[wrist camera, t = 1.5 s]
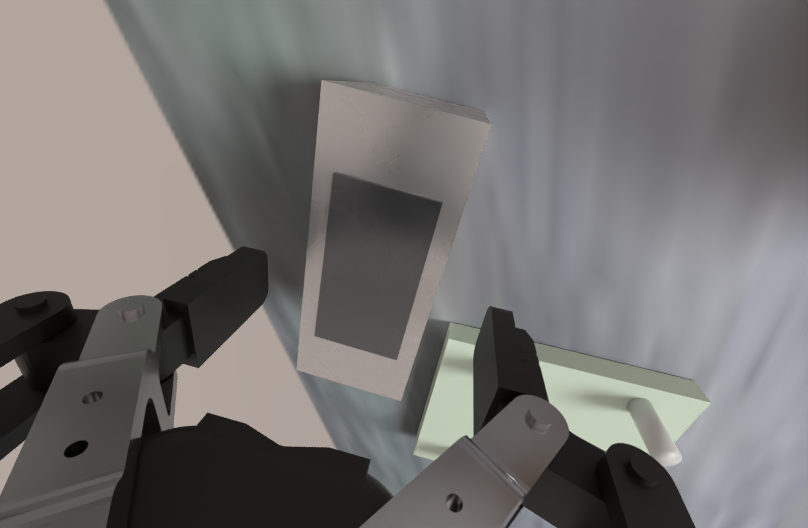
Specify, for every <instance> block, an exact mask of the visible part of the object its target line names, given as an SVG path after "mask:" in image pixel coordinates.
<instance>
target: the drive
mask: <svg viewBox="0 0 808 528" xmlns="http://www.w3.org/2000/svg"><path fill="white" fill-rule="evenodd" d="M491 125H492V124H491V122H490V121H489V119H488V117H487V116H486V114H485V112H484V111H482V110H478V109H474V108H470V107H466V106H462V105H458V104H455V103H451V102H447V101H443V100H439V99H435V98H431V97H428V96H424V95H420V94H416V93H412V92H408V91H404V90H400V89H397V88H393V87H389V86H385V85H381V84H377V83H373V82H354V81H332V80H321V92H320V104H319V115H318V127H317V139H316V150H315V162H314V173H313V185H312V197H311V208H310V220H309V232H308V243H307V255H306V266H305V278H304V290H303V301H302V313H301V325H300V336H299V348H298V359H297V370H299V371H302V372H305V373H309V374H312V375H315V376H319V377H322V378H325V379H329V380H332V381H335V382H339V383H342V384H345V385H349V386H352V387H355V388H359V389H362V390H365V391H369V392H372V393H375V394H379V395H382V396H385V397H389V398H392V399H395V400H399V401H401V399H402V396H403V393H404V390H405V387H406V384H407V381H408V378H409V375H410V372H411V369H412V366H413V363H414V360H415V357H416V354H417V350H418V347H419V344H420V341H421V338H422V335H423V332H424V329H425V326H426V323H427V320H428V317H429V314H430V311H431V308H432V305H433V302H434V299H435V296H436V293H437V289H438V286H439V283H440V280H441V277H442V274H443V271H444V268H445V265H446V262H447V259H448V256H449V253H450V250H451V247H452V244H453V241H454V238H455V235H456V232H457V229H458V225H459V222H460V219H461V216H462V213H463V210H464V207H465V204H466V201H467V198H468V195H469V192H470V189H471V186H472V183H473V180H474V177H475V174H476V171H477V168H478V164H479V161H480V158H481V155H482V152H483V149H484V146H485V143H486V140H487V137H488V134H489V131H490V128H491Z"/></svg>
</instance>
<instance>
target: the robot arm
mask: <svg viewBox="0 0 808 528" xmlns="http://www.w3.org/2000/svg"><path fill="white" fill-rule="evenodd" d="M267 293H268V264H267V255H266V253H265V252H264V251H261V250H257V249H252V248H248V247H241V248H239V249H237V250H236V251H234V252H233V253H231V254H230V255H228V256H224V257H221V258H218V259H215V260H212V261H209V262H208V263H206V264H205V265H203V266H201V267H200V268H198V270H195V271H194V272H192V273H190V274H189V276H188V277H187V276H186V277H184V278H182V279H181V280H179V281H178V282H176V283H175V284H173V285H171V286H170V287H168V288H167V289H165V290H163V291H162V292H160V293H159V294H157V295H156V296H154V297H151V296H144V295H139V296H129V297H125V298H121V299H118V300H115V301H113V302H111V303H109V304H107V305H105V306H104V307H103V308H102V309H100V310H88V309H73V306H72V304H71V301H70V298H69V296H68V295H66V294H64V293H61V292H55V291H43V292H35V293H30V294H25V295H22V296H18V297H15V298H12V299H10V300H8V301H5V302H3V303H1V304H0V367H2V366H4V365H5V364H7V363H9V362H10V361H12V360H13V359H15V361H16V363H17V365H18V367H19V369H20V370H21V373H22V376H20V377H19V378H17V379H16V380H14V381H13V382H11V383H10V384H8V385H7V386H5V387H4V388H2V389H1V390H0V460H1V459H3V458H4V457H5V456H6V455H7V454H9V453H10V452H11V451H12V450H13V449H15V448H16V447H17V446H18V445H19V444H21V443H22V442H23V441H24V440H25V442H24V444H23V447H22V449H21V451H20V453H19V455H18V458H17V460H16V462H15V464H14V466H13V469H12V471H11V473H10V475H9V477H8V480H7V482H6V484H5V486H4V488H3V491H2V493H1V495H0V528H509V527H510V526H511V525H512V523H513V522H514V521H515V519H516V518H517V516H518V515H519V514H520V512H521V511H522V509H523V508H524V507H526V508H527V509H529V510H530V511H532V512H534V513H535V514H537V515H538V516H540V517H541V518H543V519H544V520H546V521H547V522H549V523H551V524H552V525H554V526H555V527H557V528H695V525H694V523H693V521H692V519H691V517H690V515H689V513H688V511H687V508H686V506H685V504H684V502H683V500H682V498H681V496H680V493H679V491H678V489H677V487H676V485H675V483H674V481H673V479H672V478H671V476H670V475H669V473H668V472H667V471H666V470H665V468H664V467H663V466H662V465H661V464H660V463H659V462H658V461H657V460H655V459H654V458H653V457H652V456H650V455H649V454H648V453H646V452H644V451H643V450H641V449H639V448H637V447H635V446H632V445H630V444H626V443H615V444H612V445H611V446H610V447H609V448H608V449H607V451H604V450H602V449H600V448H598V447H597V446H595V445H593V444H591V443H589V442H587V441H585V440H583V439H582V438H580V437H578V436H576V435H575V434H573V433H572V432H571V431H569V428H568V424H567V422H566V420H565V418H564V416H563V415H562V414H561V413H560V411H559V410H558V409H557V408H556V407H554V406H553V405H552V404H550V403H549V399H548V395H547V391H546V387H545V383H544V379H543V375H542V371H541V368H540V366H539V360H538V356H537V352H536V348H535V344H534V341H533V340H532V338H531V337H530V336H529V334H528V333H527V332H526V331H525V330H523V329H519V328H515V323H514V317H513V313H512V311H508V310H504V309H499V308H495V307H491V306H490V307H489V308H488V310H487V312H486V315H485V318H484V321H483V324H482V326H481V329H480V332H479V335H478V338H477V341H476V344H475V349H474V355H473V437H472V438H471V439H470V438H469V437H468V436H467V435H465V436H463V437H461V438H460V439H458V440H457V441H456V442H455V443H454V444H453V445H451V446H450V447H449V448H448V449H447V450H446V451H445V452H444V453H442V454H441V455H440V456H439V457H438V458H437V459H436V460H435V461H433V462H432V463H431V464H430V465H429V466H428V467H427V468H426V469H424V470H423V471H422V472H421V473H420V474H419V475H418V476H417V477H415V478H414V479H413V480H412V481H411V482H410V483H409V484H408V485H406V486H405V487H404V488H403V489H402V490H401V491H400V492H399V493H397V494H396V495H395V496H393V495H392V494H391V493H390V492H389V491H388V490H387V489H386V487H385V486H384V485H382V484H381V483H380V482H379V481H378V480H376V479H375V478H374V477H372V476H370V475H369V474H368V469H369V464H370V459H367V458H364V457H360V456H357V455H353V454H350V453H346V452H343V451H339V450H336V449H332V448H326V447H325V448H324V447H285V446H281V445H278V444H277V443H275V442H274V441H272V440H270V439H269V438H267V437H266V436H264V435H263V434H261V433H260V432H258V431H257V430H255V429H253V428H252V427H250V426H249V425H247V424H245V423H242V422H238V421H234V420H231V419H228V418H224V417H220V416H217V415H214V414H210V413H207V414H206V415H205V416H204V417H203V419H202V420H201V421H200V422H199V423H198V425H197V426H184V427H178V428H174V413H175V401H176V389H177V371H176V369H177V368H178V367H179V366H180V365H182V364H186V365H189V366H193V367H197V368H199V367H200V366H201V365H202V364H203V363H204V362H205V361H206V360H207V359H208V358H209V357H210V356H211V355H212V354H213V353H214V352H215V351H216V350H217V349H218V348H219V347H220V346H221V345H222V344H223V343H224V342H225V341H226V340H227V339H228V338H229V337H230V336H231V335H232V334H233V333H234V332H235V331H236V330H237V329H238V328H239V327H240V326H241V325H242V324H243V323H244V322H245V321H246V320H247V319H248V318H249V317H250V316H251V315H252V314H253V313H254V312H255V311H256V310H257V309H258V308H259V307H260V306H261V305H262V304H263V303H264V301H265V299H266V297H267Z"/></svg>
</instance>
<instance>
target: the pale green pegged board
mask: <svg viewBox="0 0 808 528" xmlns="http://www.w3.org/2000/svg"><path fill="white" fill-rule="evenodd" d="M479 332H480V329H477V328H472V327H468V326H464V325H460V324H456V323H452V322H450V324H449V327H448V330H447V334H446V337H445V341H444V344H443V347H442V351H441V354H440V357H439V361H438V364H437V368H436V371H435V374H434V378H433V381H432V384H431V388H430V391H429V395H428V398H427V401H426V405H425V408H424V412H423V415H422V418H421V422H420V425H419V428H418V432H417V435H416V441H415V448H414V455H417V456H421V457H424V458H428V459H432V460H436V459H437V458H438V457H439V456H440V455H441V454H442V453H444V452H445V451H446V450H447V449H448V448H449V447H450V446H451V445H453V444H454V443H455V442H456V441H457V440H458V439H460V438H461V437H463V436H465V435H467V436H468V437H469V438H470V439H471V438H472V437H473V355H474V349H475V344H476V341H477V338H478V335H479ZM534 344H535V348H536V352H537V356H538V360H539V366H540V368H541V371H542V375H543V379H544V383H545V387H546V391H547V395H548V399H549V403H550V404H552V405H553V406H554V407H556V408H557V409H558V410H559V411H560V413H561V414H562V415H563V416H564V418H565V420H566V422H567V424H568V428H569V431H571V432H572V433H573V434H575V435H576V436H578V437H580V438H582V439H583V440H585V441H587V442H589V443H591V444H593V445H595V446H597V447H598V448H600V449H602V450H604V451H607V449H608V448H609V447H610V446H611V445H612V444H615V443H626V444H630V445H632V446H635V447H637V448H639V449H641V450H643V451H644V452H646V453H648V454H649V455H650V456H652V457H653V458H654V459H655V460H657V461H658V462H659V463H660V464H661V465H662V466H673V465H676V464H678V463H679V462H680V461H681V460H682V456H681V454H680V452H679V450H678V449H677V447H676V445H675V443H674V442H675V441H676V440H677V439H678V438H679V437H680V436H681V435H682V434H683V433H684V432H685V430H686V429H687V428H688V427H689V426H690V425H691V424H692V423H693V422H694V421H695V420H696V419H697V417H698V416H699V415H700V414H701V413H702V412H703V411H704V410H705V409H706V408H707V407H708V406H709V404H710V403H711V402H710V401H709V399H708V398H707V397H706V396H705V394H704V393H703V392H702V390H701V389H700V388H699V386H698V385H697V384H696V383H695V381H693V380H688V379H684V378H680V377H676V376H672V375H668V374H664V373H659V372H655V371H651V370H647V369H643V368H639V367H634V366H630V365H626V364H622V363H618V362H614V361H610V360H605V359H601V358H597V357H593V356H589V355H585V354H580V353H576V352H572V351H568V350H564V349H560V348H556V347H551V346H547V345H543V344H539V343H535V342H534Z"/></svg>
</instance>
